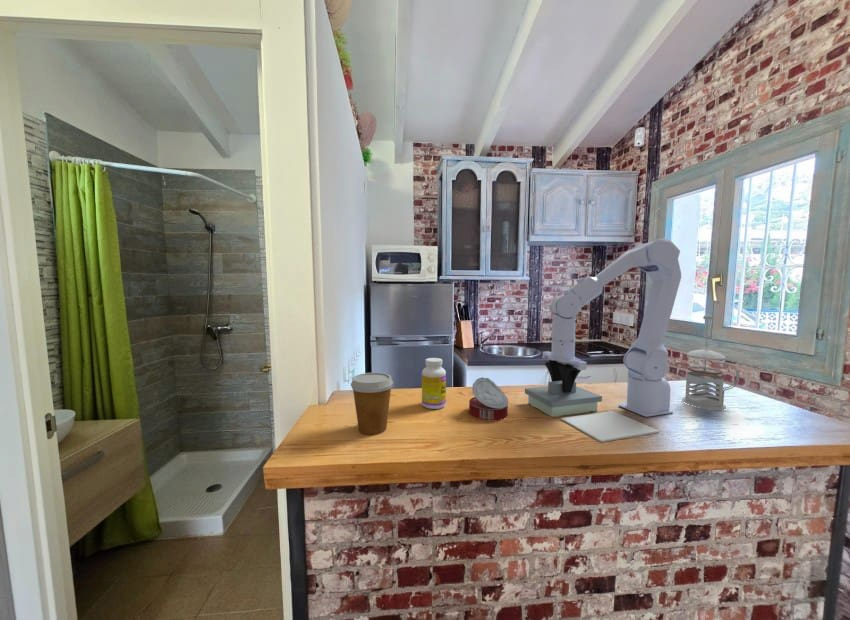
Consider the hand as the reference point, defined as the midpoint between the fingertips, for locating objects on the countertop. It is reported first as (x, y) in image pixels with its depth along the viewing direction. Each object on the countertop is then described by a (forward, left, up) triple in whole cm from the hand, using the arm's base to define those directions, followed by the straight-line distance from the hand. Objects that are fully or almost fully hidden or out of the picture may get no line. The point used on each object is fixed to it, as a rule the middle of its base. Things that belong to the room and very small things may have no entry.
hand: (562, 390), depth 85 cm
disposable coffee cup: (+51, -1, -5) cm, 51 cm away
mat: (-2, +13, -5) cm, 14 cm away
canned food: (+21, -2, -5) cm, 22 cm away
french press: (-40, +10, -5) cm, 42 cm away
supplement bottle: (+33, -11, -5) cm, 35 cm away
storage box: (0, 0, -5) cm, 5 cm away
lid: (0, 0, -2) cm, 2 cm away
